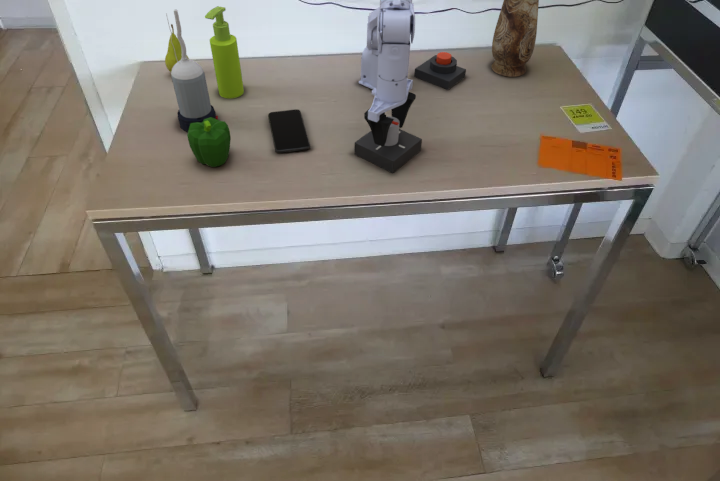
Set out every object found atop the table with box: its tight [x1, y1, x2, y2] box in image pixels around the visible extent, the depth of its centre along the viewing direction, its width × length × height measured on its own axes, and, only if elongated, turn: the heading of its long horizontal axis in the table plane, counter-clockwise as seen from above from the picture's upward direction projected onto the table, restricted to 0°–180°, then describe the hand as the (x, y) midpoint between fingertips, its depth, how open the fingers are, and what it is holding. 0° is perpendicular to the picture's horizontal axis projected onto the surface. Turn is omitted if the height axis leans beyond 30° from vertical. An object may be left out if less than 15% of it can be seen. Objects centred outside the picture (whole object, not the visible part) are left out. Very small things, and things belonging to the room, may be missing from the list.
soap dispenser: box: [204, 5, 245, 99], centre depth 127 cm, size 6×7×20 cm
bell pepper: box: [186, 117, 232, 168], centre depth 112 cm, size 8×8×10 cm
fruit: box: [164, 23, 190, 73], centre depth 135 cm, size 6×6×12 cm
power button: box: [436, 51, 453, 65], centre depth 138 cm, size 4×4×2 cm
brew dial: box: [385, 115, 400, 146], centre depth 114 cm, size 4×4×5 cm
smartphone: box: [267, 109, 311, 154], centre depth 122 cm, size 7×1×15 cm
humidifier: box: [165, 9, 219, 133], centre depth 116 cm, size 8×8×25 cm
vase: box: [491, 0, 540, 78], centre depth 134 cm, size 10×11×30 cm
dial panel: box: [353, 128, 423, 174], centre depth 117 cm, size 10×10×3 cm
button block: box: [413, 54, 467, 90], centre depth 140 cm, size 10×8×4 cm
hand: (388, 134), depth 115 cm, fingers open, 7 cm apart
